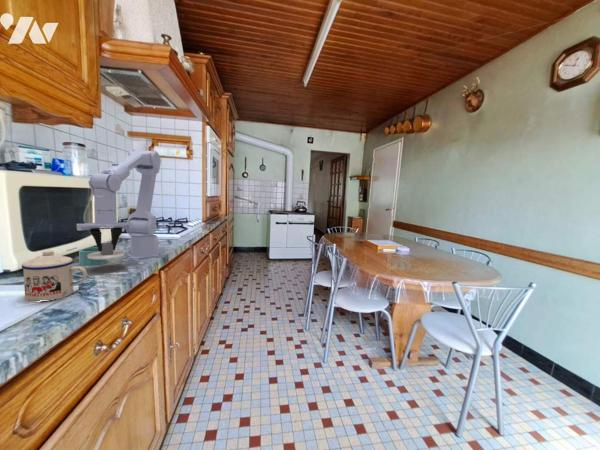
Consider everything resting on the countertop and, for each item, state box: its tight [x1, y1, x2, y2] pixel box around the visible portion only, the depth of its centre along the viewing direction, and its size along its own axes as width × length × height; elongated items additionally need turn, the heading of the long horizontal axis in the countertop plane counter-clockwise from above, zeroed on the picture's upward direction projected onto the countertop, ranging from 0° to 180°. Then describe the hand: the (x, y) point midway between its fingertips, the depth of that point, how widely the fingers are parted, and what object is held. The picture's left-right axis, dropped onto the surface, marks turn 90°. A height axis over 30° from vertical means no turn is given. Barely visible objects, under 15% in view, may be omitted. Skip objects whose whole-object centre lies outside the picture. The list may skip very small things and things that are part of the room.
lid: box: [87, 242, 126, 260], centre depth 84 cm, size 10×10×4 cm
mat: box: [84, 263, 130, 277], centre depth 85 cm, size 10×10×1 cm
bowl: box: [78, 247, 108, 267], centre depth 90 cm, size 8×8×5 cm
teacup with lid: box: [21, 249, 88, 302], centre depth 63 cm, size 12×9×12 cm
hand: (106, 250), depth 84 cm, fingers closed on lid, 3 cm apart
